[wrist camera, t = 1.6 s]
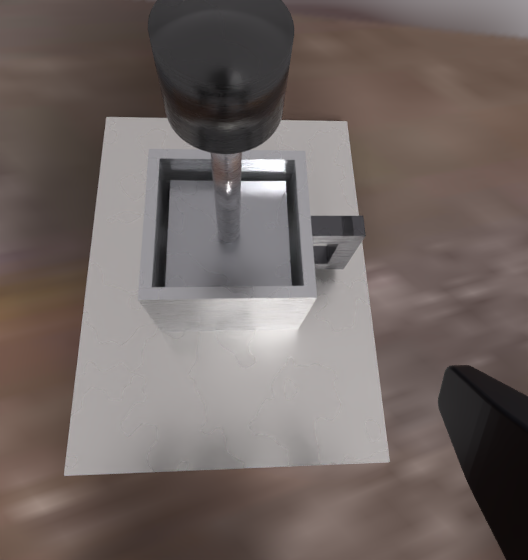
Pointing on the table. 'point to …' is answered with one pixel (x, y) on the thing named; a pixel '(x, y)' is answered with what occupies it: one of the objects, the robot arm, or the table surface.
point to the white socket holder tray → (225, 320)
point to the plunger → (224, 137)
